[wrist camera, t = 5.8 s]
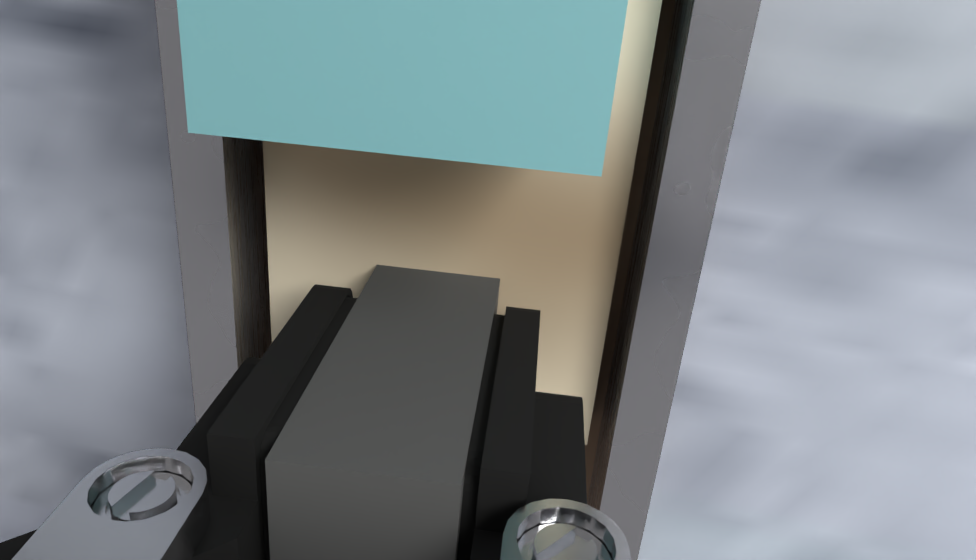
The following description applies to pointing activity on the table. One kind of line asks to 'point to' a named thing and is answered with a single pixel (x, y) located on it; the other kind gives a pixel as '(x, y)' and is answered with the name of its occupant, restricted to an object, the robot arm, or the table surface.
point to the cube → (409, 76)
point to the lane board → (641, 265)
